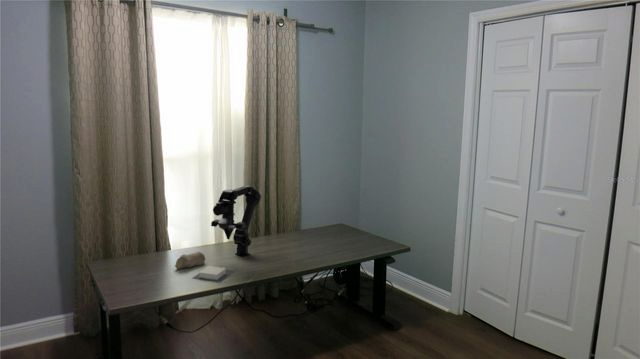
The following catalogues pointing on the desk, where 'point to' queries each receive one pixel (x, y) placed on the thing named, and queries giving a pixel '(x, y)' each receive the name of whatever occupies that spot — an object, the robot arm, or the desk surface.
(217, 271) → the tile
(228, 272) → the mat
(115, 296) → the desk surface
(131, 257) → the desk surface
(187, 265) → the sculpture
